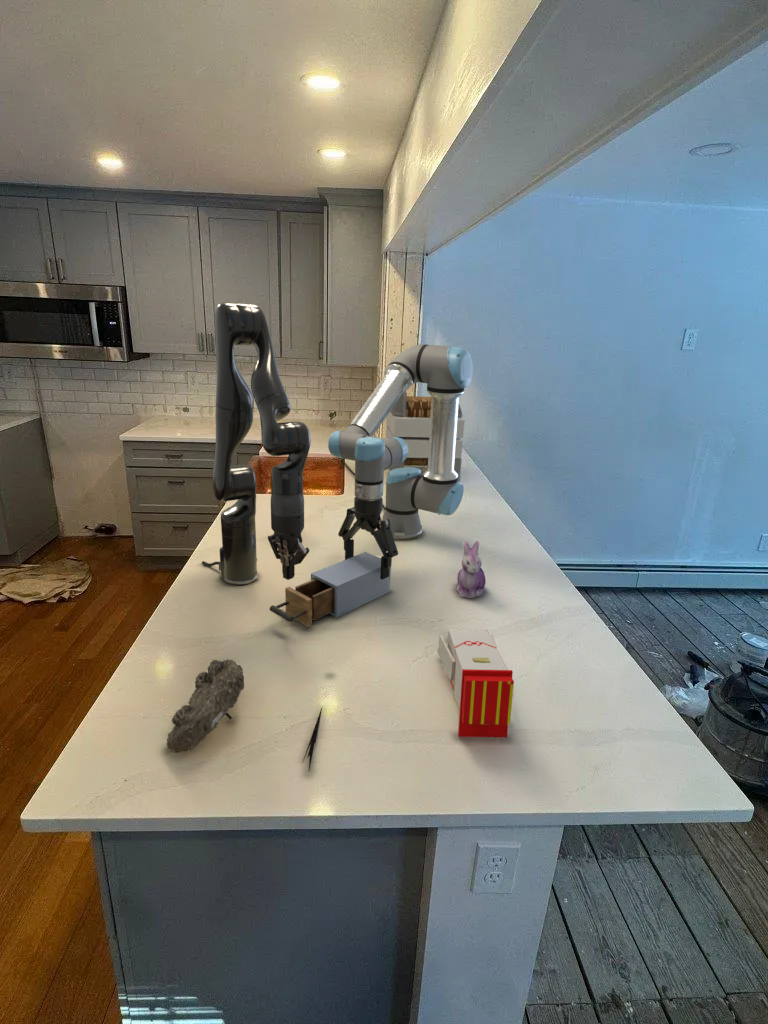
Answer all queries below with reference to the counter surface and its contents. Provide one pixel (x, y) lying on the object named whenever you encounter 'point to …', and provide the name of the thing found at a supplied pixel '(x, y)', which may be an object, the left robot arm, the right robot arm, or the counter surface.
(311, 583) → the drawer
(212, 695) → the fossil
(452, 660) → the toy
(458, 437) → the white slatted crate
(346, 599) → the cabinet
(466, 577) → the figurine
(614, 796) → the counter surface
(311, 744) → the feather
